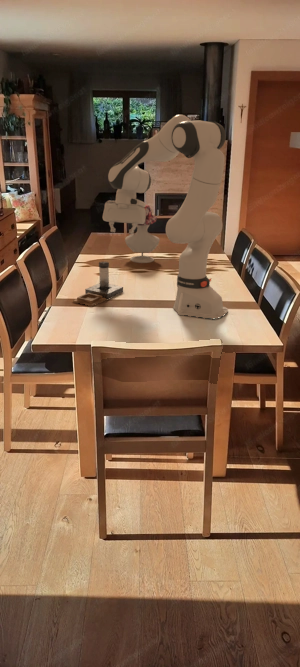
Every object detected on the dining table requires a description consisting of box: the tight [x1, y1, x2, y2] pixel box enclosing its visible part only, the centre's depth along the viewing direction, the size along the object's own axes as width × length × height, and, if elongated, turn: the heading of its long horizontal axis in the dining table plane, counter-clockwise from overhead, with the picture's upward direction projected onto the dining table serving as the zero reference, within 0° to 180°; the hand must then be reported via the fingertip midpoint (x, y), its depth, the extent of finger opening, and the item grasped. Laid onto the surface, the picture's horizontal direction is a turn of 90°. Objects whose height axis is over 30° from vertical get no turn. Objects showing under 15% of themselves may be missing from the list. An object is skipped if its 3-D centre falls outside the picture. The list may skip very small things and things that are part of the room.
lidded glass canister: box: [98, 261, 110, 290], centre depth 222 cm, size 4×4×14 cm
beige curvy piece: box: [124, 203, 161, 264], centre depth 275 cm, size 19×18×30 cm
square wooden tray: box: [72, 293, 107, 307], centre depth 214 cm, size 10×10×2 cm
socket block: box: [84, 282, 124, 300], centre depth 224 cm, size 12×12×2 cm
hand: (121, 233), depth 223 cm, fingers open, 8 cm apart
